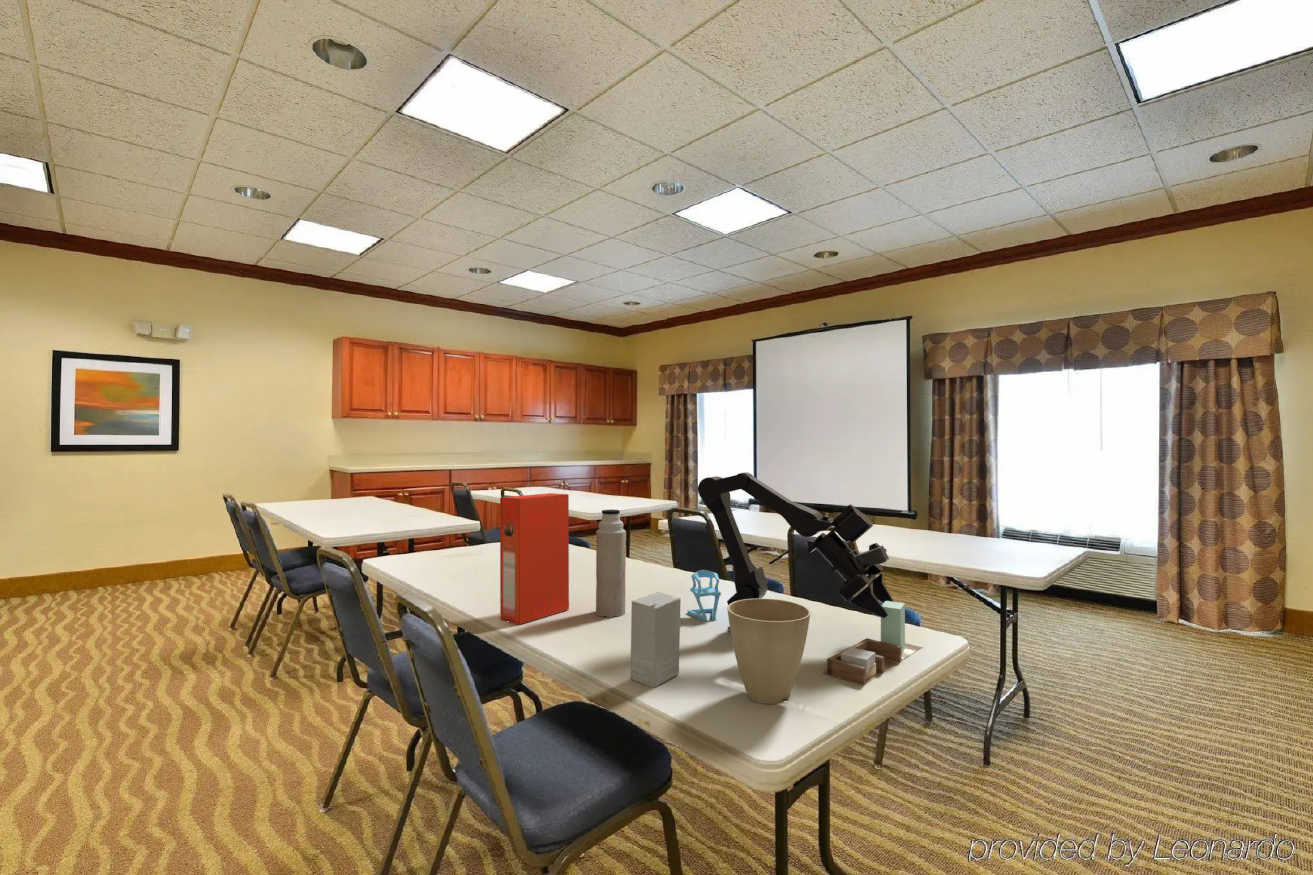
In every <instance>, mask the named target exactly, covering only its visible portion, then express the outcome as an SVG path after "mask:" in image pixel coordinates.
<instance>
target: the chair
mask: <svg viewBox="0 0 1313 875" xmlns="http://www.w3.org/2000/svg"><path fill="white" fill-rule="evenodd" d="M701 578H709V584H708V586H703V587H702V584H701ZM713 578H715V579H714V580H715V582H716V583H715V585H714V586H713ZM691 579H692V584H693V585H692V587H690V589H689V590H690V592H691V593H692V594H693V596H694V597H695V600H696V602H697V606H698V608H696V609H687V614H688V615H689V616H692V617H695V618H696V619H699V620H701V621H703V622H707V620H708V619H707V614H706V613H711V621H714V622H715V621H717V612H718V606H719V600H720V597H721V595H722V592H721V591H720V590H719V583H720V578H719V575H718V573H716V572H714V571H710V570H706V569H700V570H697V571H696V572H694V573H692V574H691ZM697 586H698V587H697ZM708 596H714V602H713V608H711V607H710V608H704V607H703V605H702V602H701V598H702V597H703V598H704V597H708Z"/></svg>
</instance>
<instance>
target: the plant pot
mask: <svg viewBox="0 0 1313 875" xmlns="http://www.w3.org/2000/svg"><path fill="white" fill-rule="evenodd" d="M726 608H727V616H728V623H729V627H730V630H729V631H730V637H731V641H732V647H733V652H734V656H735V660H736V663H737V666H738V672H739V674H740V676H741V681H742V683H743V687H744V690H745V692H746V694H747V696H748V698H749V699H750V700H752V701H754V702H756V703H760V704H765V705H777V704H783V703H785V702H786V701H787V699H788V698H787V697H788V696H790V695H791V692H792V690H793V687H794V684H795V682H796V678H797V675H798V672H799V669H800V666H801V662H802V658H803V655H804V650H805V648H806V647H805V646H806V644H807V643H806V642H807V637H808V631H809V625H810V617H811V611H810V609H809V608H807V607H806V606H804V605H803V604H801V603H798V602H797V603H796V602H793V601H789V600H784V599H777V598H761V599H744V600H739V601H735V602H732V603H731V604H729V605H728V604H727V607H726Z"/></svg>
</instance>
